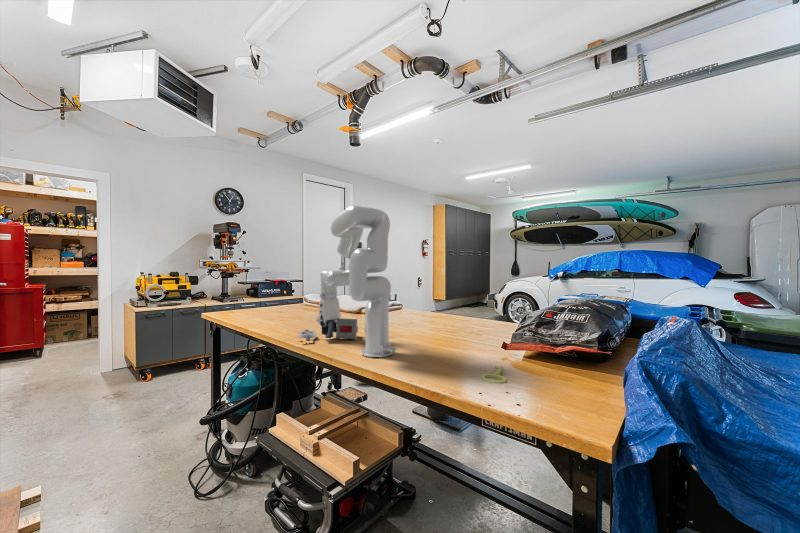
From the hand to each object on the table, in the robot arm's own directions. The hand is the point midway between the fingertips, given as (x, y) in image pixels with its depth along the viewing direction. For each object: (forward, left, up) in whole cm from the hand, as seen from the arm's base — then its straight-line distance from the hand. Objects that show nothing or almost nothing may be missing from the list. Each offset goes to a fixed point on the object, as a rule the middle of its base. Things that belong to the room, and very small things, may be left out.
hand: (329, 332), depth 152 cm
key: (-83, +5, -4) cm, 84 cm away
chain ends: (+10, +5, -3) cm, 12 cm away
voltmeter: (-11, -11, -3) cm, 16 cm away
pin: (0, 0, -3) cm, 3 cm away
